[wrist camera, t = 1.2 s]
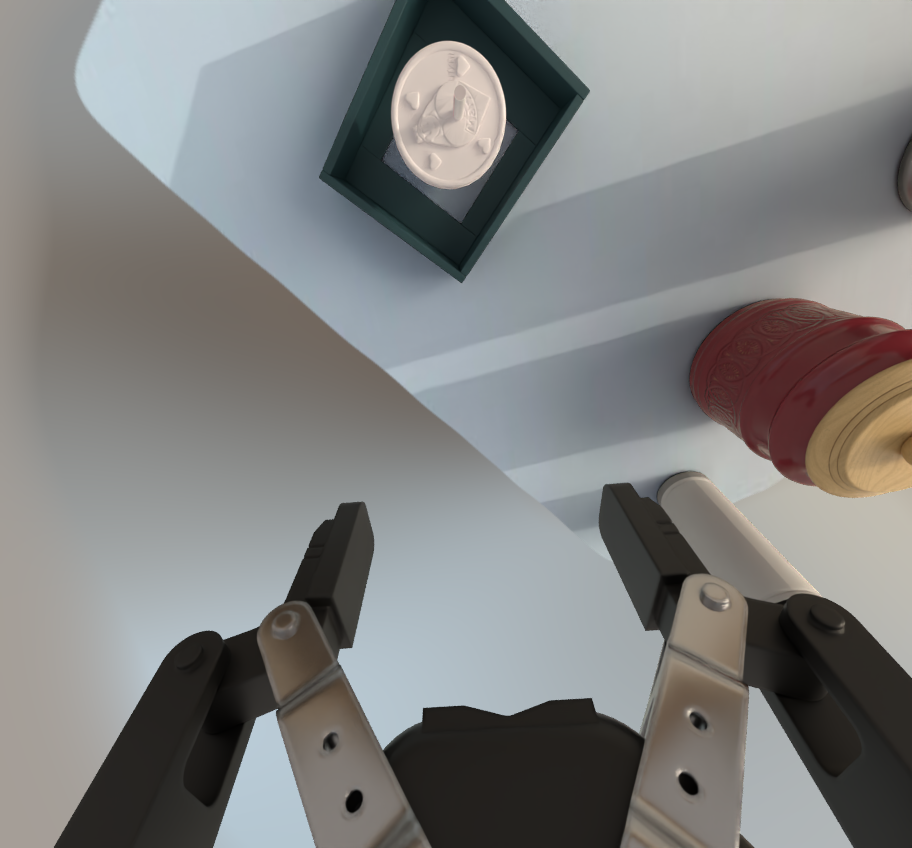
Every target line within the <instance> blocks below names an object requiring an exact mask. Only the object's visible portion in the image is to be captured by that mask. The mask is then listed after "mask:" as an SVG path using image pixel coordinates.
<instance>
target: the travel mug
mask: <svg viewBox="0 0 912 848" xmlns="http://www.w3.org/2000/svg"><path fill="white" fill-rule="evenodd" d="M657 500H658V503H659V505H660V506H661V507H662V508H663V509H664V510H665V512H666V513H667V515H668V516H669V517H670V519H671V520H672V523H674V524H675V526H676V527H677V528H678V530H679V533H680V534H682V535H683V537H684V538H685V540H686V541H687V542H688V544H689V545H690V546H691V548H692V549H693V551H694V552H695V553H696V555H697V556H698V558H699V559H700V560H701V562H702V563H703V565H704V566H705V567H706V569H707V570H708V571H709V573H710V574H711V575H713V576H716V577H719V578H721V579H723V580H725V581H727V582H728V583H730V584H731V585H733V586H734V587H735V588H736V589H737V590H738V591H739V592H740V593H741V594H742V595H743V596H745V597H748V598H752V599H757V600H762V601H767V602H772V603H777V604H782V605H785V604H786V602H787V600H788V599H789V598H790V597H791V596H792V595H795V594H800V593H805V594H813V595H817V596H820V597H822V596H821V595H820V594H819V593H818V592H817V591H816V590H815V589H814V588H813V587H812V585H811V584H810V583H809V582H807V580H806V579H805V578H804V577H803V576H802V575H801V574H800V573H799V572H798V571H797V570H796V569H795V568H794V567H793V566H792V565H791V564H790V563H789V562H788V561H787V560H786V559H785V558H784V556H782V555H781V553H780V552H778V550H777V549H776V548H775V547H774V546H773V545H772V544H771V543H770V542H769V541H768V540H767V539H766V538H765V537H764V536H763V535H762V534H761V533H760V532H759V531H758V530H757V529H756V528H755V527H754V525H752V523H751V522H750V521H749V520H748V519H747V518H746V517H745V516H744V515H743V514H742V513H741V512H740V511H739V510H738V509H737V508H736V507H735V506H734V505H733V504H732V503H731V502H730V501H729V500H728V499H727V497H726V496H725V495H724V494H723V493H722V492H721V491H720V490H719V489H718V488H717V487H716V486H715V485H714V484H713V483H712V482H711V481H710V480H709V479H708V478H707V477H706V476H705V475H703V474H701V473H698V472H683V473H679V474H677V475H675V476H673V477H671V478H669V479H668V480H667V481H666V482H664V483H663V485H662V486H661V487H660V489H659V491H658V495H657Z"/></svg>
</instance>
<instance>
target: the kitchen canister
mask: <svg viewBox="0 0 912 848" xmlns="http://www.w3.org/2000/svg"><path fill="white" fill-rule="evenodd" d="M690 389H691V392H692V395H693V397H694V399H695V401H696V402H697V403H698V405H699V407H700V408H701V409H702V411H703V412H704V413H705V414H706V415H708V416H709V417H710V418H711V419H712V420H714V421H715V422H717V423H719V424H721V425H723V426H725V427H726V428H727V429H728V430H730V431H731V432H732V433H734V434H735V435H736V436H737V437H739V438H740V439H741V440H743V441H744V442H745V444H746V445H747V446H748V447H749V449H750V450H752V451H753V452H754V453H755V454H757V455H758V456H760V457H762V458H765V459H767V460H770V461H772V463H773V465H774V466H775V468H776V469H777V470H778V471H779V472H780V473H781V474H782V475H783V476H785V477H786V478H788V479H790V480H792V481H794V482H797V483H800V484H803V485H808V486H817V487H819V488H820V489H821V490H823V491H825V492H827V493H829V494H832V495H836V496H840V497H848V498H859V497H869V496H876V495H881V494H885V493H888V492H894V491H899V490H903V489H907V488H910V487H912V329H904V328H903V327H902V326H901V325H899V324H897V323H895V322H893V321H891V320H887V319H884V318H878V317H863V316H860V315H856V314H852V313H848V312H844V311H840V310H836V309H832V308H829V307H827V306H825V305H823V304H821V303H818V302H814V301H809V300H805V299H798V298H785V299H782V298H779V299H768V300H763V301H760V302H756V303H754V304H751V305H748V306H746V307H744V308H742V309H740V310H738V311H737V312H735V313H733V314H732V315H730V316H729V317H727V318H726V319H725V320H723V321H722V322H721V323H720V324H719V325H718V326H717V327H716V328H715V329H714V330H713V331H712V332H711V333H710V334H709V335H708V336H707V337H706V339H705V340H704V341H703V343H702V344H701V346H700V348H699V349H698V351H697V353H696V355H695V357H694V360H693V363H692V366H691V370H690Z"/></svg>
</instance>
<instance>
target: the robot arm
mask: <svg viewBox="0 0 912 848" xmlns="http://www.w3.org/2000/svg"><path fill="white" fill-rule="evenodd" d="M898 191H899V196H900V198H901V201H902V202H903V204H904V205H905V206H906V208H907V209H909V210H910V211H912V139H911V141H910V143H909V145H908V147H907V149H906V151H905V153H904V156H903V159H902V162H901V165H900V169H899V174H898ZM599 529H600V533H601V536H602V539H603V541H604V543H605V545H606V547H607V549H608V551H609V554H610V556H611V558H612V560H613V562H614V564H615V566H616V568H617V571H618V573H619V575H620V577H621V579H622V581H623V583H624V586H625V588H626V590H627V592H628V594H629V596H630V598H631V601H632V603H633V605H634V607H635V609H636V611H637V613H638V616H639V618H640V620H641V622H642V624H643V626H644V628H645V631H649V630H660V631H661V634H662V636H663V638H664V643H663V647H662V650H661V654H660V658H659V662H658V666H657V670H656V673H655V677H654V681H653V685H652V689H651V693H650V697H649V700H648V704H647V708H646V711H645V715H644V718H643V722H642V725H641V728H640V732H639V734H638V733H637V732H636V731H634V730H633V729H631V728H630V727H628V726H627V725H625V724H624V723H621V722H620V721H618V720H616V719H614V718H611V717H609V716H606V715H604V714H601V713H597V712H596V711H595V708H594V704H593V701H592V698H585V699H570V700H569V699H568V700H551V701H547V702H545V703H542V704H540V705H537V706H535V707H532V708H529V709H527V710H524V711H522V712H519V713H516V714H514V715H511V716H504V715H500V714H496V713H492V712H488V711H484V710H480V709H476V708H472V707H468V706H449V707H432V708H423V718H422V719H423V720H422V722H421V723H418V724H415V725H414V726H412V727H410V728H408V729H406V730H405V731H404V732H402V733H401V734H399V735H398V736H397V737H396V738H395V739H394V740H393V741H391V742H390V743H389V744H388V745H387V746H386V747H385V749H384V750H382V748H381V746H380V744H379V742H378V740H377V738H376V736H375V734H374V732H373V730H372V728H371V726H370V724H369V722H368V720H367V718H366V716H365V713H364V712H363V710H362V707H361V705H360V703H359V702H358V699H357V697H356V695H355V693H354V691H353V689H352V687H351V685H350V683H349V681H348V679H347V678H346V675H345V673H344V671H343V669H342V667H341V665H339V663H338V661H337V658H338V654H339V650H340V649H343V648H352V646H353V641H354V637H355V633H356V629H357V624H358V620H359V615H360V611H361V606H362V601H363V597H364V592H365V588H366V584H367V579H368V575H369V570H370V566H371V561H372V557H373V551H374V536H373V531H372V527H371V523H370V520H369V516H368V512H367V508H366V505H365V503H364V502H353V503H341V504H340V506H339V508H338V510H337V513H336V516H335V518H334V519H332V520H325V521H324V522H323V523H322V524H321V525H320V527H319V528H318V529H317V530H316V531H315V532H314V534H313V536H312V539H311V541H310V543H309V548H307V551H306V553H305V555H304V559H303V560H302V562H301V565H300V567H299V569H298V572H297V574H296V576H295V579H294V581H293V583H292V586H291V589H290V591H289V593H288V596H287V598H286V600H285V602H284V604H282V605H280V606H278V607H277V608H275V609H274V610H272V611H271V612H270V613H269V614H268V615H267V616H266V617H265V618H264V620H263V621H262V623H261V625H260V626H259V627H257V628H255V629H252V630H250V631H247V632H244V633H242V634H239V635H236V636H233V637H230V638H228V639H225V640H223V639H222V637H221V636H220V635H219V634H218V633H217V632H214V631H202V632H199V633H196V634H193V635H191V636H189V637H187V638H186V639H184V640H183V641H181V642H180V643H179V644H177V645H176V646H175V647H174V648H173V649H172V650H171V651H170V652H169V653H168V655H167V656H166V657H165V659H164V660H163V662H162V663H161V665H160V667H159V668H158V670H157V672H156V673H155V675H154V677H153V679H152V680H151V682H150V684H149V685H148V687H147V689H146V691H145V692H144V694H143V696H142V697H141V699H140V701H139V703H138V704H137V706H136V708H135V710H134V711H133V713H132V714H131V716H130V718H129V720H128V721H127V723H126V725H125V726H124V728H123V730H122V732H121V733H120V735H119V737H118V738H117V740H116V742H115V744H114V745H113V747H112V749H111V750H110V752H109V754H108V756H107V757H106V759H105V761H104V763H103V764H102V766H101V767H100V769H99V771H98V773H97V774H96V776H95V778H94V780H93V781H92V783H91V785H90V786H89V788H88V790H87V792H86V793H85V795H84V797H83V799H82V800H81V802H80V804H79V805H78V807H77V809H76V810H75V812H74V814H73V815H72V817H71V819H70V821H69V822H68V824H67V826H66V827H65V829H64V831H63V832H62V834H61V836H60V838H59V839H58V841H57V843H56V845H55V846H54V848H213V846H214V843H215V840H216V837H217V834H218V831H219V827H220V824H221V822H222V819H223V816H224V813H225V810H226V807H227V804H228V801H229V798H230V794H231V792H232V788H233V785H234V783H235V780H236V776H237V774H238V771H239V767H240V764H241V762H242V758H243V755H244V753H245V749H246V747H247V744H248V741H249V738H250V734H251V732H252V729H253V726H254V723H255V720H256V718H257V717H259V716H261V715H264V714H266V713H268V712H271V711H273V710H275V709H278V710H277V711H276V716H277V721H278V724H279V728H280V731H281V734H282V738H283V741H284V744H285V747H286V751H287V754H288V757H289V761H290V764H291V767H292V771H293V774H294V777H295V780H296V784H297V787H298V790H299V793H300V797H301V800H302V803H303V807H304V810H305V813H306V817H307V820H308V823H309V826H310V830H311V833H312V836H313V839H314V843H315V846H316V848H754V847H753V846H752V845H751V844H750V843H749V842H748V841H747V840H746V839H745V838H744V837H743V836H742V835H741V834H740V823H741V809H742V793H743V779H744V778H743V777H744V763H745V749H746V734H747V719H748V703H749V687H748V686H752V687H755V688H759V689H760V690H761V692H762V694H763V695H764V697H765V699H766V701H767V702H768V704H769V705H770V707H771V709H772V711H773V712H774V714H775V716H776V717H777V719H778V721H779V723H780V724H781V726H782V728H783V729H784V731H785V733H786V734H787V736H788V738H789V739H790V741H791V743H792V744H793V746H794V748H795V749H796V751H797V753H798V755H799V756H800V758H801V760H802V761H803V763H804V765H805V766H806V768H807V770H808V771H809V773H810V775H811V776H812V778H813V780H814V782H815V783H816V785H817V787H818V788H819V790H820V792H821V793H822V795H823V797H824V798H825V800H826V802H827V804H828V805H829V807H830V809H831V810H832V812H833V814H834V815H835V817H836V819H837V820H838V822H839V824H840V825H841V827H842V829H843V831H844V832H845V834H846V836H847V837H848V839H849V841H850V842H851V844H852V845H853V847H854V848H912V678H911V677H910V676H909V675H908V674H907V673H906V672H905V670H904V669H903V668H902V667H901V666H900V665H899V664H898V663H897V662H896V661H895V660H894V659H893V658H892V657H891V655H890V654H889V653H887V651H886V650H885V649H884V648H883V647H882V646H881V645H880V644H879V643H878V641H877V640H876V639H875V638H874V637H873V636H872V635H871V634H870V633H869V632H868V631H867V630H866V629H865V627H864V626H863V625H862V624H861V623H860V622H859V621H858V620H857V619H856V618H855V617H854V616H853V615H852V614H851V613H849V612H848V611H847V610H845V609H844V608H843V607H841V606H839V605H838V604H836V603H834V602H832V601H830V600H828V599H826V598H823V597H820V596H817V595H813V594H805V593H800V594H795V595H792V596H791V597H790V598H789V599H788V600H787V602H786V604H785V605H782V604H777V603H772V602H767V601H762V600H757V599H752V598H748V597H745V596H743V595H742V594H741V593H740V592H739V591H738V590H737V589H736V588H735V587H734V586H733V585H731V584H730V583H728V582H727V581H725V580H723V579H721V578H719V577H716V576H713V575H711V574H710V573H709V571H708V570H707V569H706V567H705V566H704V565H703V563H702V562H701V560H700V559H699V558H698V556H697V555H696V553H695V552H694V551H693V549H692V548H691V546H690V545H689V544H688V542H687V541H686V540H685V538H684V537H683V535H682V534H680V533H679V530H678V528H677V527H676V526H675V524H674V523H672V520H671V519H670V517H669V516H668V515H667V513H666V512H665V510H664V509H663V508H662V507H661V506H660V505H658V504H657V503H655V502H654V501H653V500H651V499H650V498H649V497H644V498H640V497H639V495H638V494H637V492H636V491H635V489H634V488H633V486H632V485H631V484H630V483H617V484H606V485H604V487H603V492H602V499H601V506H600V514H599Z"/></svg>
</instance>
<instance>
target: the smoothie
mask: <svg viewBox="0 0 912 848" xmlns="http://www.w3.org/2000/svg"><path fill="white" fill-rule="evenodd" d="M391 121H392V129H393V134H394V138H395V141H396V145H397V148H398V150H399V152H400V154H401V156H402V158H403V160H404V162H405V164H406V165H407V166H408V167H409V169H410V170H411V171H412V172H413V173H414V174H415V176H417V177H418V178H420V179H421V180H422V181H424V182H425V183H427V184H428V185H431V186H434V187H437V188H440V189H457V188H461V187H464V186H468V185H470V184H471V183H473V182H474V181H476V180H477V179H479V178H480V177H481V176H482V175H483V174H484V173H485V172H486V171H487V170H488V169H489V168H490V166H491V165H492V163H493V161H494V159H495V158H496V156H497V154H498V152H499V150H500V146H501V143H502V140H503V136H504V131H505V124H506V105H505V98H504V94H503V90H502V87H501V84H500V81H499V79H498V77H497V75H496V73H495V71H494V69H493V68H492V66H491V65H490V63H489V62H488V61H487V60H486V59H485V58H484V57H483V56H482V55H481V54H480V53H479V52H478V51H476V50H475V49H473V48H472V47H470V46H468V45H466V44H463V43H460V42H455V41H441V42H436V43H433V44H430V45H428V46H426V47H424V48H423V49H421V50H420V51H418V52H417V53H416V54H415V55H414V56H413V57H412V58H411V59H410V60H409V61H408V62H407V64H406V65H405V67H404V68H403V70H402V72H401V73H400V75H399V78H398V80H397V82H396V85H395V89H394V93H393V97H392V105H391Z"/></svg>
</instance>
